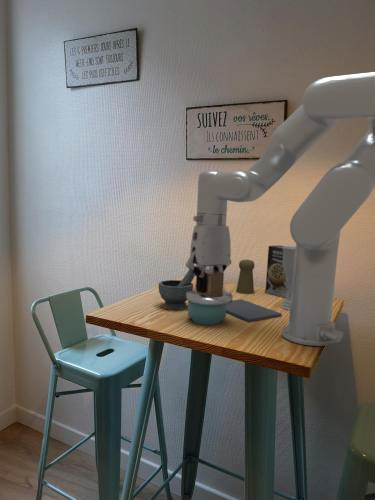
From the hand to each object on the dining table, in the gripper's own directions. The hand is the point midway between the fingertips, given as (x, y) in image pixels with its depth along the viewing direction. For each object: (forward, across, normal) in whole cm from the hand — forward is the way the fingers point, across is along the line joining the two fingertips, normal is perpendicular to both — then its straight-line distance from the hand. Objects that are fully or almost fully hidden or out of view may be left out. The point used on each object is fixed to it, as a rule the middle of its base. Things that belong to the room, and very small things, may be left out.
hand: (208, 290), depth 112 cm
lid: (+2, 0, -1) cm, 2 cm away
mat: (+8, +15, +2) cm, 17 cm away
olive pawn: (+8, +31, +20) cm, 38 cm away
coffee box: (+8, +40, +12) cm, 43 cm away
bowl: (+8, 0, 0) cm, 8 cm away
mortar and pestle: (+8, 0, +14) cm, 17 cm away
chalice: (+8, +30, -1) cm, 31 cm away
